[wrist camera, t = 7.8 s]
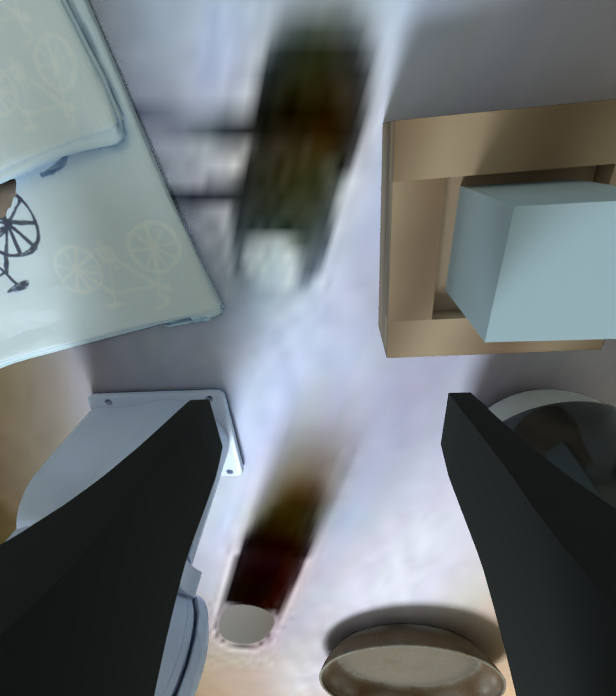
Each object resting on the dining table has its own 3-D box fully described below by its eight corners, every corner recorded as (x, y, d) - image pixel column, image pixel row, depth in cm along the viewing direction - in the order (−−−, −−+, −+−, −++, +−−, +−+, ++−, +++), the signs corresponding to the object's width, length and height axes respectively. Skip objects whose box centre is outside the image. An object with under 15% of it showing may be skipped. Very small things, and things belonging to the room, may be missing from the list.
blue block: (445, 289, 17) (484, 342, 13) (460, 185, 15) (514, 206, 10) (544, 286, 16) (621, 338, 12) (576, 178, 14) (683, 197, 10)
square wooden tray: (378, 325, 21) (386, 357, 18) (382, 123, 16) (395, 120, 13) (560, 317, 20) (601, 349, 17) (626, 100, 15) (701, 90, 12)
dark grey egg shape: (618, 344, 21) (1122, 706, 7) (595, 466, 26) (874, 811, 12) (436, 377, 22) (586, 714, 9) (448, 485, 27) (557, 803, 14)
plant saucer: (311, 675, 49) (310, 709, 46) (331, 601, 38) (331, 639, 35) (461, 692, 49) (469, 727, 46) (523, 622, 38) (539, 662, 35)
